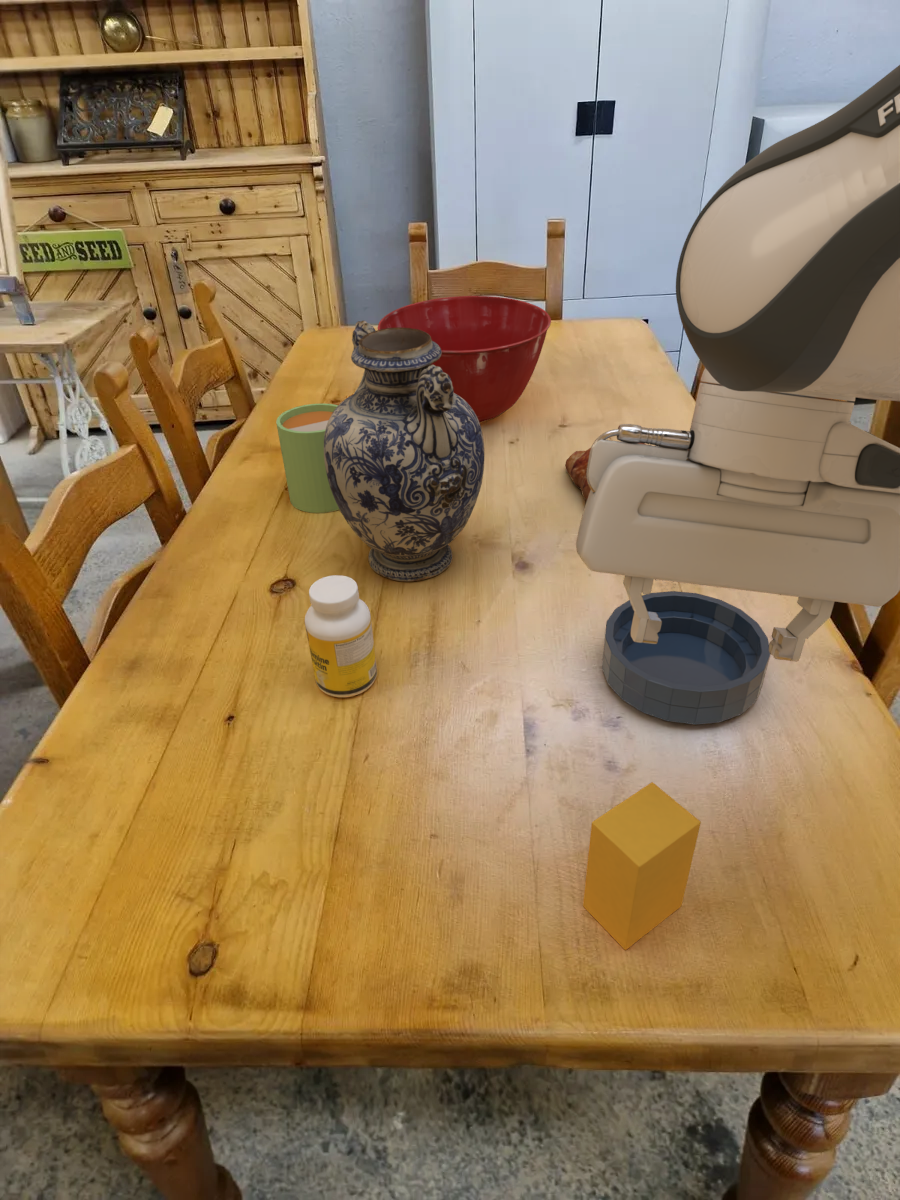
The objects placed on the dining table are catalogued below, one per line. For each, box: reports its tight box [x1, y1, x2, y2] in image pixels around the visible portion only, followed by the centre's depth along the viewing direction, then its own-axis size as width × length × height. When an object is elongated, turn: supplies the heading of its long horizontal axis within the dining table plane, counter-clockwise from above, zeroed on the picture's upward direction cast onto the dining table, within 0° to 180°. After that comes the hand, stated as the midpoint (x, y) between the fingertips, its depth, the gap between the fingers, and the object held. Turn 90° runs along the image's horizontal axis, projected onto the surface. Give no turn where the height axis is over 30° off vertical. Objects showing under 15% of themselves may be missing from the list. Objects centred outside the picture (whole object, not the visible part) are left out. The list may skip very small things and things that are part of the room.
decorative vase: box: [324, 320, 485, 582], centre depth 92 cm, size 21×19×28 cm
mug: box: [275, 403, 340, 514], centre depth 112 cm, size 13×10×12 cm
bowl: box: [601, 590, 771, 726], centre depth 79 cm, size 16×16×5 cm
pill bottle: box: [304, 574, 378, 698], centre depth 79 cm, size 6×6×12 cm
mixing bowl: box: [377, 295, 552, 423], centre depth 135 cm, size 28×28×15 cm
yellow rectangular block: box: [582, 781, 702, 951], centre depth 57 cm, size 4×6×10 cm
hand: (712, 649), depth 53 cm, fingers open, 8 cm apart
